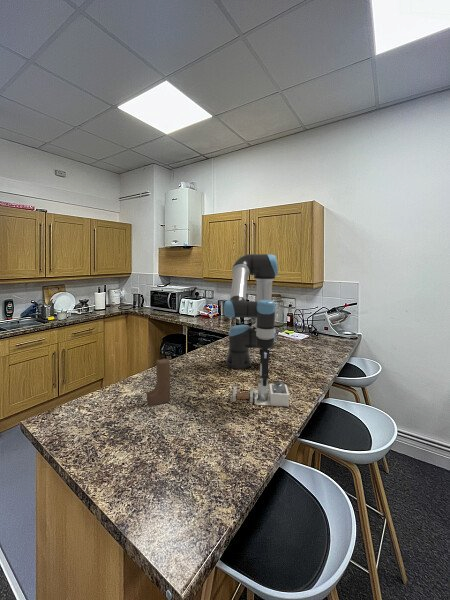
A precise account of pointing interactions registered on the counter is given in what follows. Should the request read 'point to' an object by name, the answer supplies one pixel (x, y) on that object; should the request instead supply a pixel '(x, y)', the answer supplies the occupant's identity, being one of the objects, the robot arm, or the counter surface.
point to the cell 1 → (261, 394)
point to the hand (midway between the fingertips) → (263, 384)
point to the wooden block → (161, 384)
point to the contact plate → (242, 395)
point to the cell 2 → (279, 387)
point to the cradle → (250, 394)
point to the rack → (274, 397)
